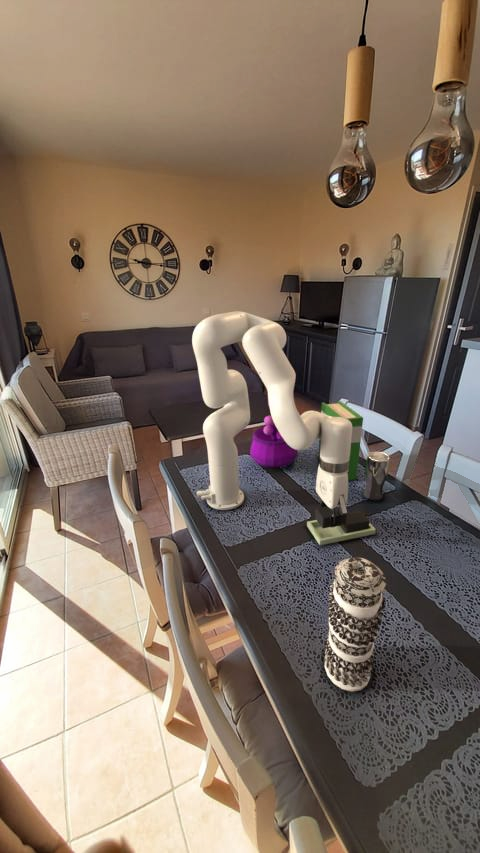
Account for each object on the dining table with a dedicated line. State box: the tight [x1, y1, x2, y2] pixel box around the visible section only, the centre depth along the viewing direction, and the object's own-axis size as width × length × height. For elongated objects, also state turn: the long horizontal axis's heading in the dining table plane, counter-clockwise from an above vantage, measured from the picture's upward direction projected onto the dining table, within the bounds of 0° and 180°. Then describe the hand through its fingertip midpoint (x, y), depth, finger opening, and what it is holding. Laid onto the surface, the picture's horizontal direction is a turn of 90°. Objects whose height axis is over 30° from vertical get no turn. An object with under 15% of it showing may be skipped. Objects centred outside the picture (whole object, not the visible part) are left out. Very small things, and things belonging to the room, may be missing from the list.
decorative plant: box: [249, 400, 299, 469], centre depth 138 cm, size 19×18×30 cm
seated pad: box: [340, 510, 370, 533], centre depth 105 cm, size 7×5×4 cm
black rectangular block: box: [314, 506, 347, 528], centre depth 102 cm, size 7×5×4 cm
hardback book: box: [317, 400, 364, 481], centre depth 133 cm, size 18×7×24 cm, turn 11°
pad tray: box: [306, 519, 377, 546], centre depth 105 cm, size 17×9×2 cm, turn 104°
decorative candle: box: [324, 556, 387, 692], centre depth 64 cm, size 9×9×25 cm
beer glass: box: [363, 451, 390, 501], centre depth 118 cm, size 7×7×15 cm
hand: (330, 519), depth 102 cm, fingers closed on black rectangular block, 5 cm apart
